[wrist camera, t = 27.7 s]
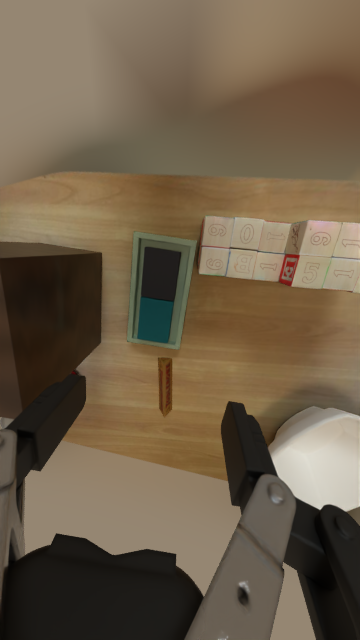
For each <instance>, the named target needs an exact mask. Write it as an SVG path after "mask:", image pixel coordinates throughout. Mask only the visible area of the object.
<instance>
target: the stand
mask: <svg viewBox="0 0 360 640" xmlns="http://www.w3.org/2000/svg"><path fill="white" fill-rule="evenodd" d="M101 272H102V253H100V252H94V251H87V250H81V249H75V248H68V247H62V246H56V245H49V244H43V243H23V242H0V417H3V418H9V419H15V418H16V417H17V416H18V415H19V414H20V413H21V412H22V411H23V410H24V409H25V408H26V407H27V406H28V405H29V404H30V403H32V402H33V401H34V400H35V399H36V398H37V397H38V396H39V395H40V394H41V393H42V392H43V391H44V390H45V389H46V388H47V387H49V386H50V385H52V384H54V383H56V382H62V381H63V380H64V379H65V378H66V377H67V376H68V375H69V374H71V372H72V371H73V370H74V369H75V368H76V367H77V366H78V365H79V364H80V363H81V362H82V361H83V360H84V359H85V358H86V357H87V356H88V355H89V354H90V353H91V352H92V351H93V350H94V349H95V348H96V347H97V346H98V345H99V344H100V343H101Z"/></svg>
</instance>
